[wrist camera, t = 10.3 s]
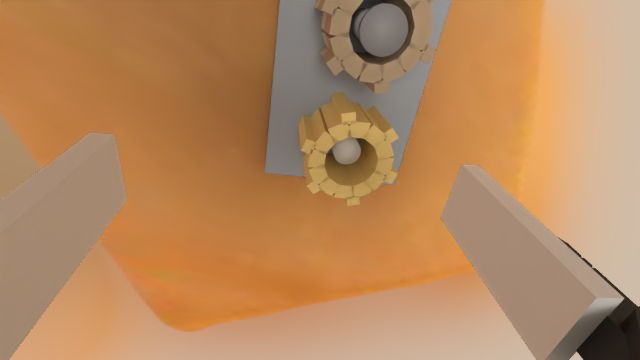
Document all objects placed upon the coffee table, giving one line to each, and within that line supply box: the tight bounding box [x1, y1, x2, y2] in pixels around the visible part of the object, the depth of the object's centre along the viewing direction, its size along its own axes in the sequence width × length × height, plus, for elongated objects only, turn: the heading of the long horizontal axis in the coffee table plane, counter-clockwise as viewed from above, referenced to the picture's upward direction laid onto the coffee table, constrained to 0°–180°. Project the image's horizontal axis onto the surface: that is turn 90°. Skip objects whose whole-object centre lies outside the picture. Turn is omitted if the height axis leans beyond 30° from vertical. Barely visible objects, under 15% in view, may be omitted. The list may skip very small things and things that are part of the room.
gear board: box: [265, 0, 452, 185], centre depth 27 cm, size 20×14×8 cm
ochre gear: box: [298, 92, 399, 206], centre depth 29 cm, size 8×8×6 cm
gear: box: [314, 0, 437, 94], centre depth 24 cm, size 8×8×6 cm
